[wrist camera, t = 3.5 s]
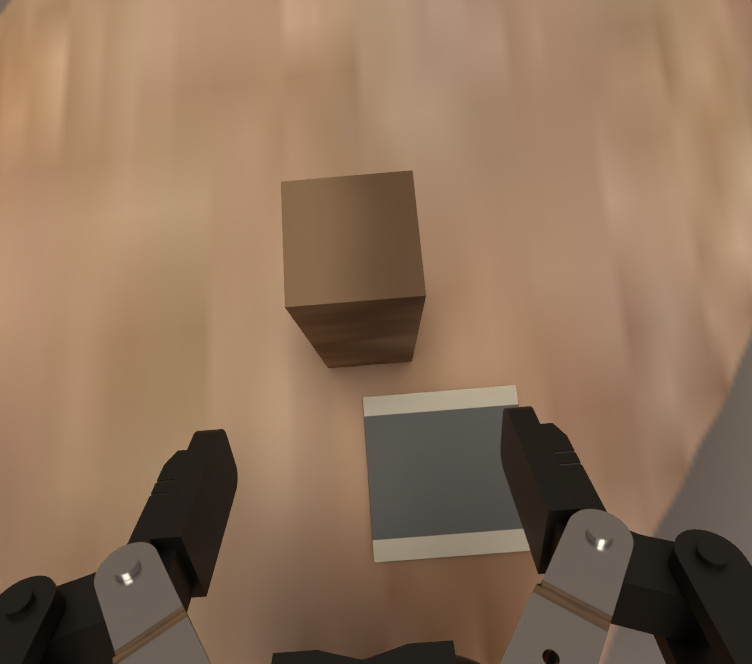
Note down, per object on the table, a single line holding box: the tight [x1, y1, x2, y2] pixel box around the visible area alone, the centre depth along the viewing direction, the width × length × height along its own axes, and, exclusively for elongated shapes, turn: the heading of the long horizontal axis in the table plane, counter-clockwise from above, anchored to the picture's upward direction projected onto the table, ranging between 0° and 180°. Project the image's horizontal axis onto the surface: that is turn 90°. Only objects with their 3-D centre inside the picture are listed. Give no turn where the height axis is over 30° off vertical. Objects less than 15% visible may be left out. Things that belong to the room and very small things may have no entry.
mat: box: [363, 385, 530, 562], centre depth 25 cm, size 8×8×1 cm
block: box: [281, 171, 426, 368], centre depth 21 cm, size 4×4×11 cm
